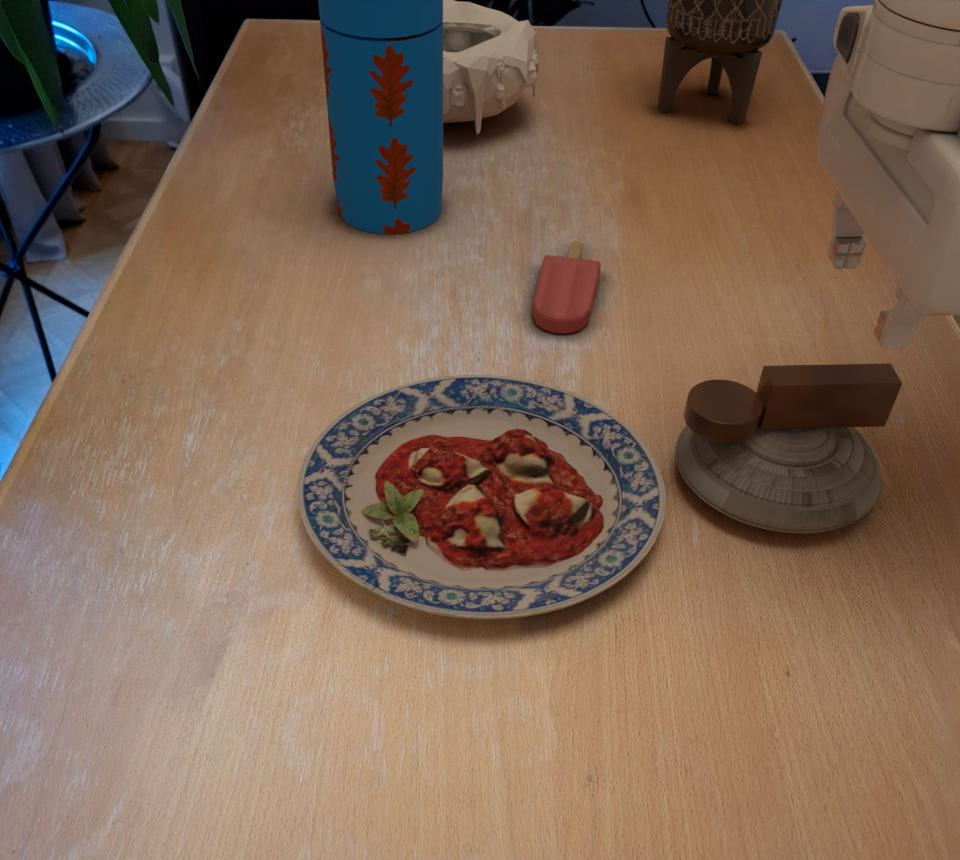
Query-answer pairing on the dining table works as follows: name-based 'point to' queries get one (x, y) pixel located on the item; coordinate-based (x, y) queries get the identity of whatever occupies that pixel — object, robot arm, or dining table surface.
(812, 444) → the flying saucer
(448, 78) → the bowl
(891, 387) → the brown cylinder and block
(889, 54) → the robot arm
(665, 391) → the dining table surface
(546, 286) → the popsicle
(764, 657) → the dining table surface
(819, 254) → the dining table surface
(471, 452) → the ceramic plate
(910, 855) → the dining table surface
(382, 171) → the thermos
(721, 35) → the planter
